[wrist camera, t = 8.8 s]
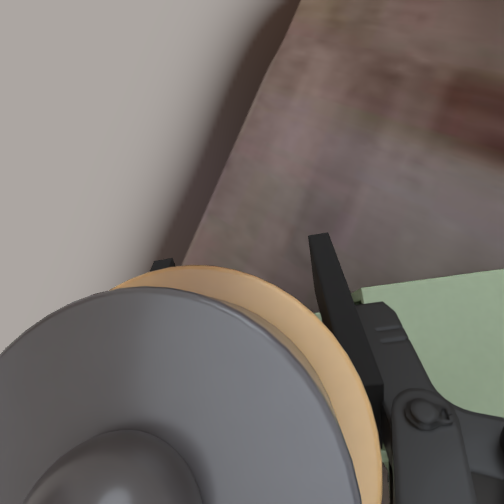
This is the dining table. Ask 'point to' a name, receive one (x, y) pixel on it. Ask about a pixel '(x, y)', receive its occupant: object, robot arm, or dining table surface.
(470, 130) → the dining table surface
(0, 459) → the pepper mill
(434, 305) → the cabinet
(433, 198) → the dining table surface
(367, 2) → the dining table surface
